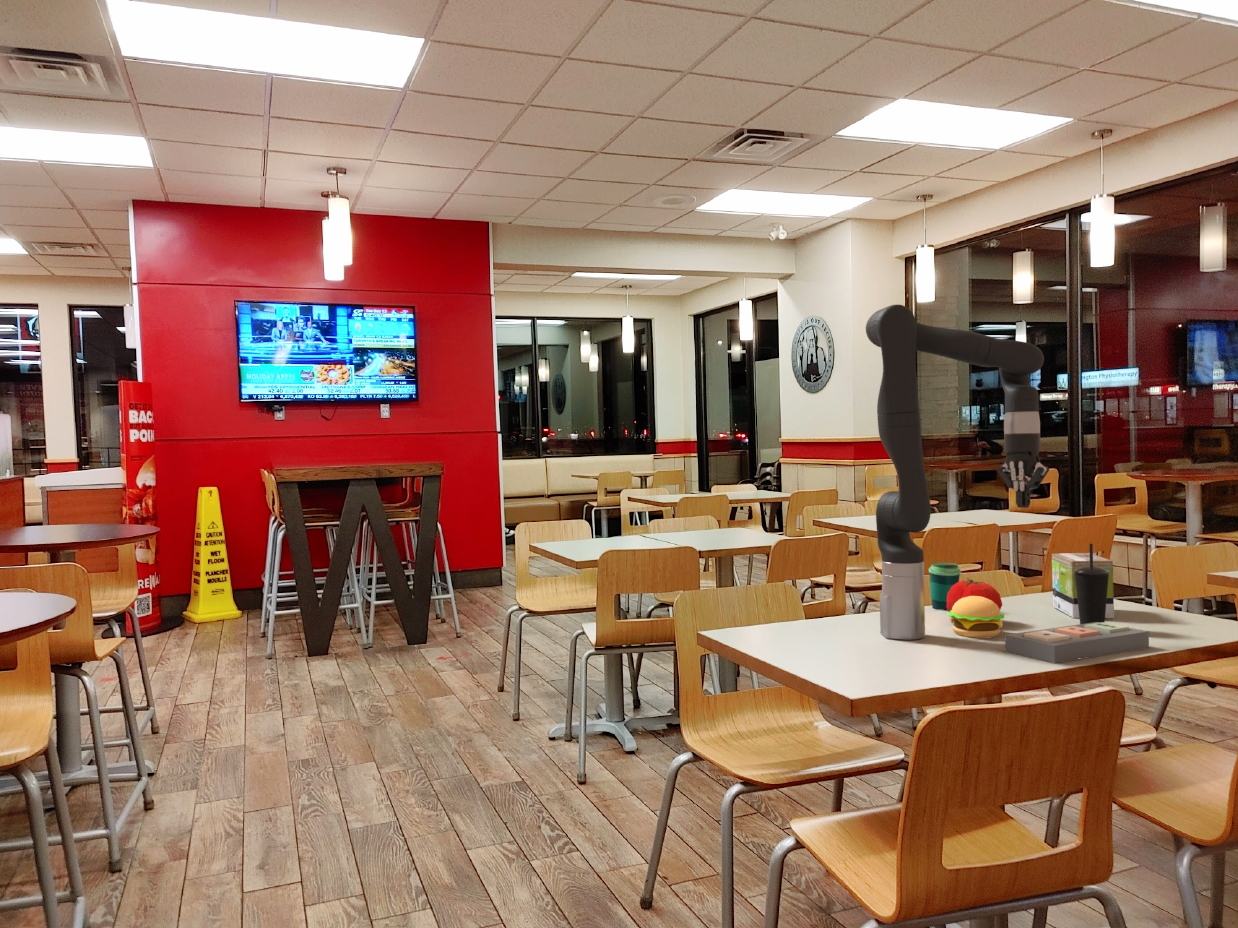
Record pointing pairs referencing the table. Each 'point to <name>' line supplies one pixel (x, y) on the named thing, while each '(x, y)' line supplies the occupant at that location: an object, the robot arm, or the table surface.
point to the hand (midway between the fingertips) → (1023, 507)
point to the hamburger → (976, 617)
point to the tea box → (1067, 587)
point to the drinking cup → (1091, 591)
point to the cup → (942, 582)
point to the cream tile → (1046, 636)
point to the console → (1076, 645)
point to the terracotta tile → (1077, 631)
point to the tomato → (972, 592)
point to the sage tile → (1107, 627)
